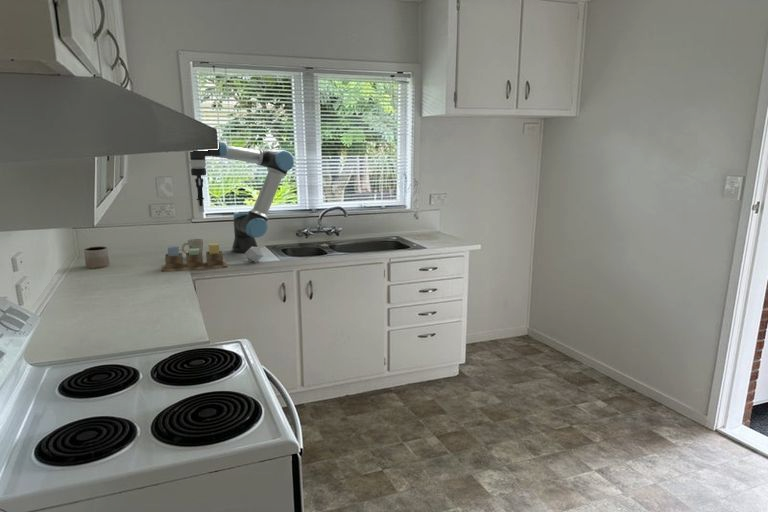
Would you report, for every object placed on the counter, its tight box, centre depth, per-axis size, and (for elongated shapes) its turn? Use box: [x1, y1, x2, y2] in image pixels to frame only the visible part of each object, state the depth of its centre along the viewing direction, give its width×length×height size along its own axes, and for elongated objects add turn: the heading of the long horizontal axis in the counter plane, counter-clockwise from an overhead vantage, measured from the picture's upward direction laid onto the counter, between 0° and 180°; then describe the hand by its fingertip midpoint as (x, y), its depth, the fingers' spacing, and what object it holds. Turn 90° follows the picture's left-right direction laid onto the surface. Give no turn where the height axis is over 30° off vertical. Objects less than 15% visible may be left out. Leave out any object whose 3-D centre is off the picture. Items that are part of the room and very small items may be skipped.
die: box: [244, 246, 264, 263], centre depth 282 cm, size 8×9×10 cm
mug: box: [181, 238, 204, 255], centre depth 289 cm, size 8×13×10 cm, turn 89°
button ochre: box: [208, 242, 220, 254], centre depth 271 cm, size 5×5×7 cm
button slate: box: [167, 244, 180, 256], centre depth 264 cm, size 5×5×7 cm
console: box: [161, 250, 228, 273], centre depth 269 cm, size 32×13×7 cm, turn 110°
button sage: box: [188, 248, 199, 255], centre depth 268 cm, size 5×5×7 cm
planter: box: [83, 246, 110, 269], centre depth 267 cm, size 11×11×10 cm
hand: (201, 211), depth 276 cm, fingers closed
